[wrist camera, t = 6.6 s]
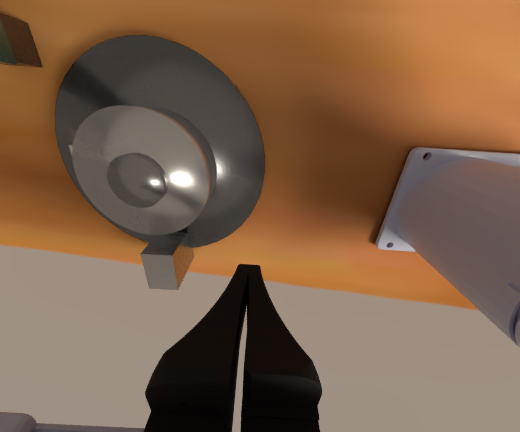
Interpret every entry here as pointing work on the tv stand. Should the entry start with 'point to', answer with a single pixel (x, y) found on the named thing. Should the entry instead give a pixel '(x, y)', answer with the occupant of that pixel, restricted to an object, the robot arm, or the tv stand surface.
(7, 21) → the stacked blocks
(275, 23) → the tv stand surface
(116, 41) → the turntable
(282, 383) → the robot arm
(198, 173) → the cover
